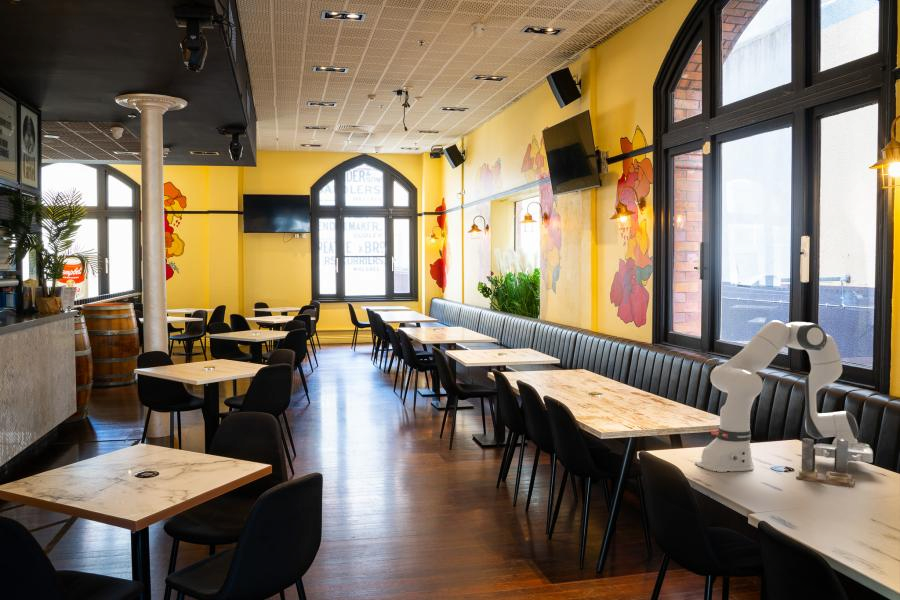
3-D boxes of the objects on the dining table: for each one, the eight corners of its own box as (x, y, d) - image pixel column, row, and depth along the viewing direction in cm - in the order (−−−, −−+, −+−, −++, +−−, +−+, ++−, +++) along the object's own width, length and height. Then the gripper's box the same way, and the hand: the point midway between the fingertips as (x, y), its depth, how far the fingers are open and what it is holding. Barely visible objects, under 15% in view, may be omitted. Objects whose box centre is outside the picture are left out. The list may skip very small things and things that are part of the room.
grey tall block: (834, 475, 266) (835, 439, 266) (834, 473, 269) (835, 438, 268) (846, 477, 264) (847, 441, 263) (847, 475, 267) (848, 439, 266)
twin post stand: (796, 478, 262) (796, 440, 261) (799, 473, 269) (800, 435, 269) (853, 487, 252) (854, 447, 251) (855, 480, 259) (856, 441, 259)
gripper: (814, 438, 283) (810, 445, 271) (873, 445, 271) (872, 452, 260) (814, 453, 283) (809, 461, 271) (873, 461, 272) (871, 469, 260)
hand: (841, 457), depth 265 cm, fingers open, 8 cm apart
